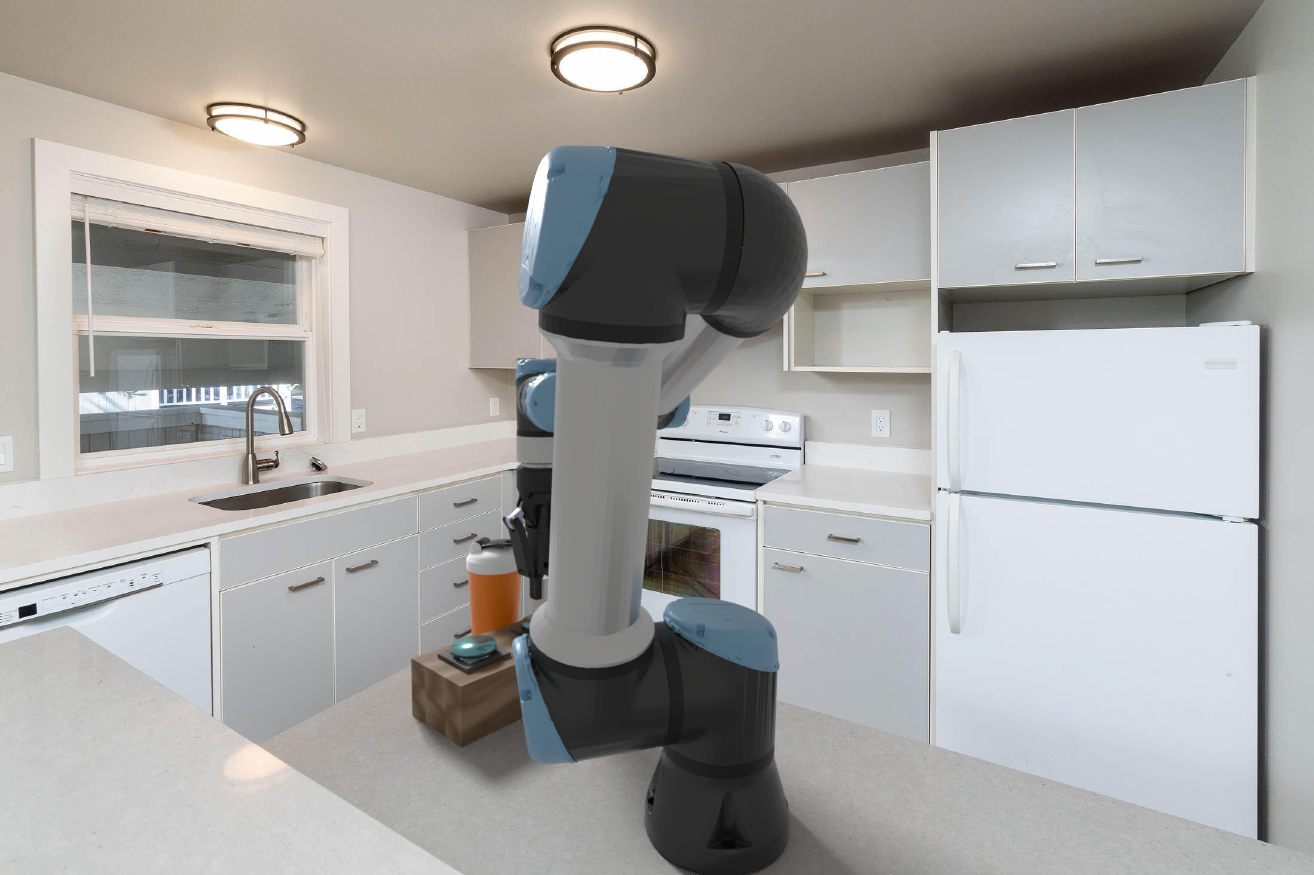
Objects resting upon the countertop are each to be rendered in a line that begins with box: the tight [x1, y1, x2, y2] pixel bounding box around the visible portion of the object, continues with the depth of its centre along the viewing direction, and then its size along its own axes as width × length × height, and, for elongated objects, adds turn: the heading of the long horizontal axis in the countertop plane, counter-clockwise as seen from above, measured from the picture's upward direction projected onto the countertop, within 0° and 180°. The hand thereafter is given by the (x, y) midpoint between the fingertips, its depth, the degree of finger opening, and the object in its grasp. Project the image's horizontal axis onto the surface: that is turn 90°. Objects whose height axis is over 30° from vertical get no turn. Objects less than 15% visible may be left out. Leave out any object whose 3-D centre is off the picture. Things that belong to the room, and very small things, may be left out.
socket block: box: [410, 619, 530, 748], centre depth 94 cm, size 12×24×9 cm, turn 140°
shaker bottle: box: [465, 536, 522, 636], centre depth 106 cm, size 9×9×20 cm
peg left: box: [450, 634, 497, 664], centre depth 89 cm, size 6×6×9 cm
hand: (542, 617), depth 98 cm, fingers closed
